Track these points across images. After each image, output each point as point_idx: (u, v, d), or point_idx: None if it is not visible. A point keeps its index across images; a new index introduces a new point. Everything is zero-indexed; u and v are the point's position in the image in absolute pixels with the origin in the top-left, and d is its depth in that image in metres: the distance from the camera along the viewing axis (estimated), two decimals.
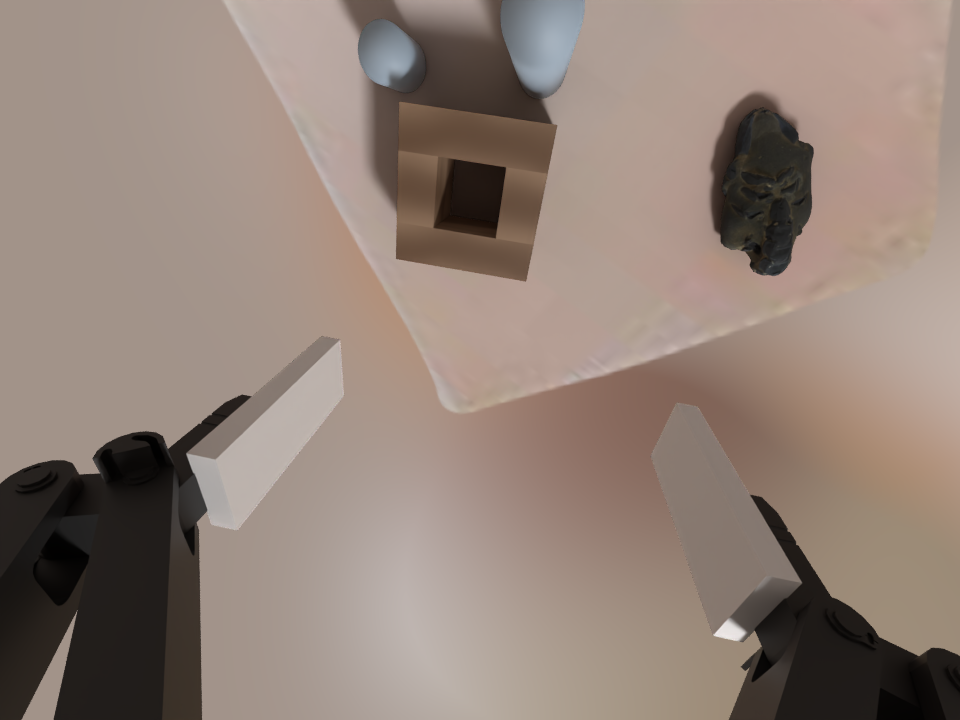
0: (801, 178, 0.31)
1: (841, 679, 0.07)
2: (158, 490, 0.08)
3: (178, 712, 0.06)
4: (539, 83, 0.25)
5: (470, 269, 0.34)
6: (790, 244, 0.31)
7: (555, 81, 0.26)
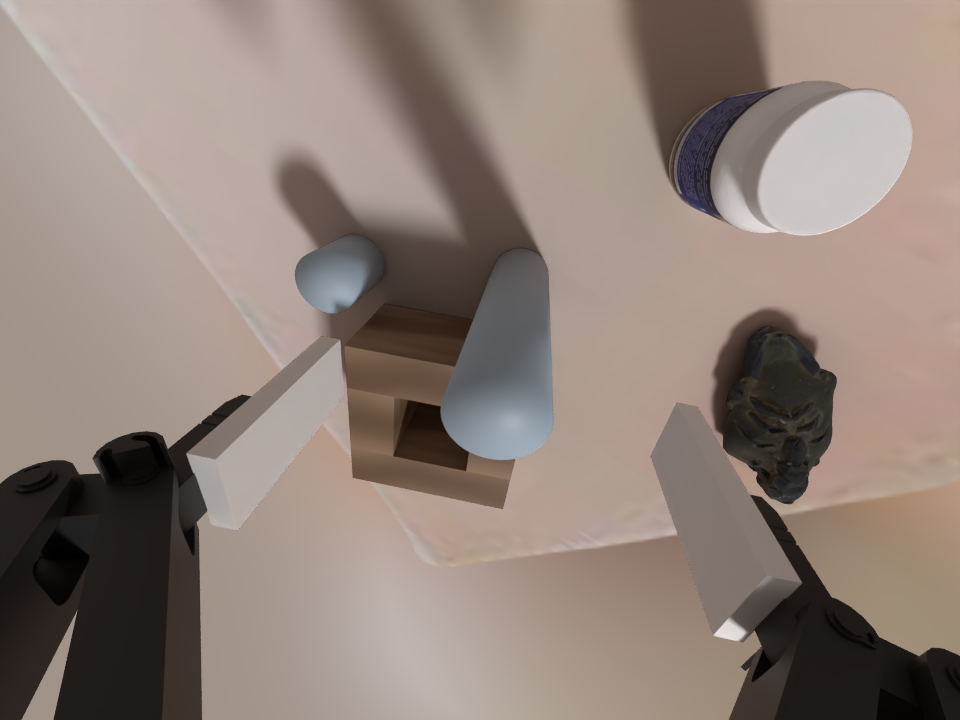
0: (822, 414, 0.26)
1: (841, 679, 0.07)
2: (158, 490, 0.08)
3: (178, 712, 0.06)
4: None
5: (438, 493, 0.29)
6: (806, 484, 0.26)
7: None
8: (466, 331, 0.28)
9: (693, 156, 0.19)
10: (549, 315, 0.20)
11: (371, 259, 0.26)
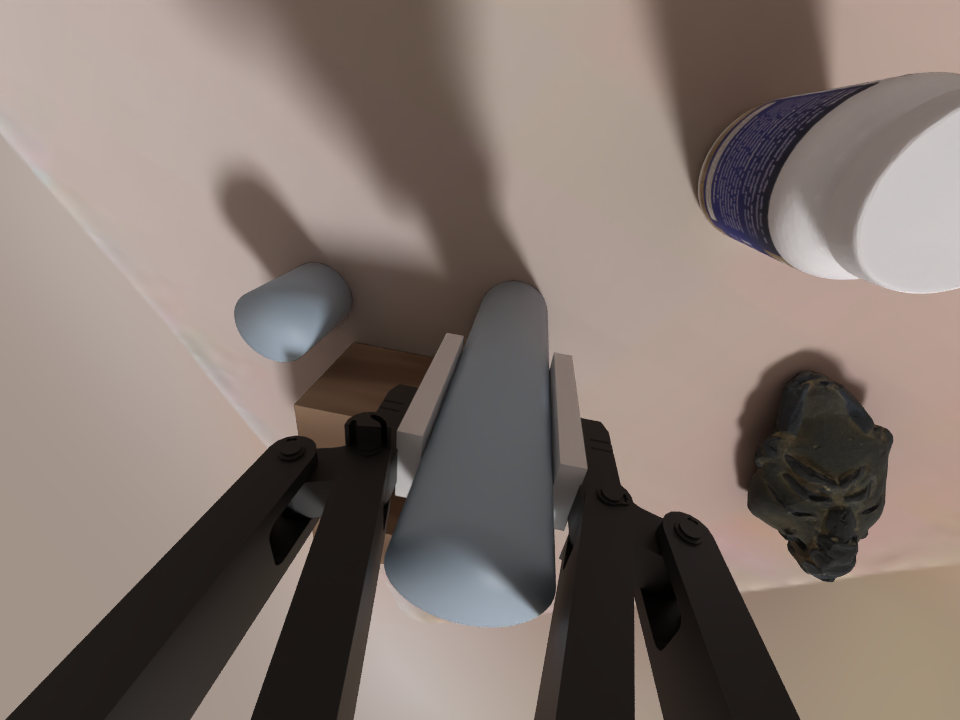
0: (875, 480, 0.21)
1: (611, 539, 0.09)
2: (377, 466, 0.10)
3: (350, 681, 0.07)
4: None
5: None
6: (853, 564, 0.22)
7: None
8: None
9: (738, 175, 0.14)
10: (548, 379, 0.15)
11: (333, 294, 0.22)
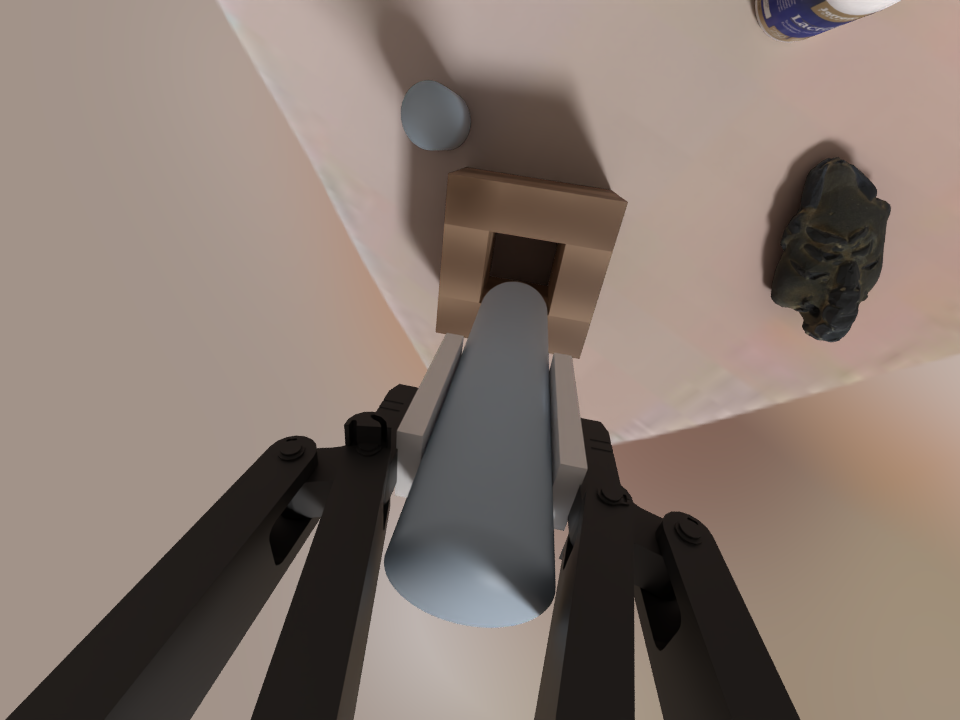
0: (876, 239, 0.27)
1: (611, 539, 0.09)
2: (377, 466, 0.10)
3: (350, 681, 0.07)
4: None
5: None
6: (856, 312, 0.28)
7: None
8: (549, 182, 0.29)
9: None
10: (548, 380, 0.15)
11: (464, 108, 0.28)
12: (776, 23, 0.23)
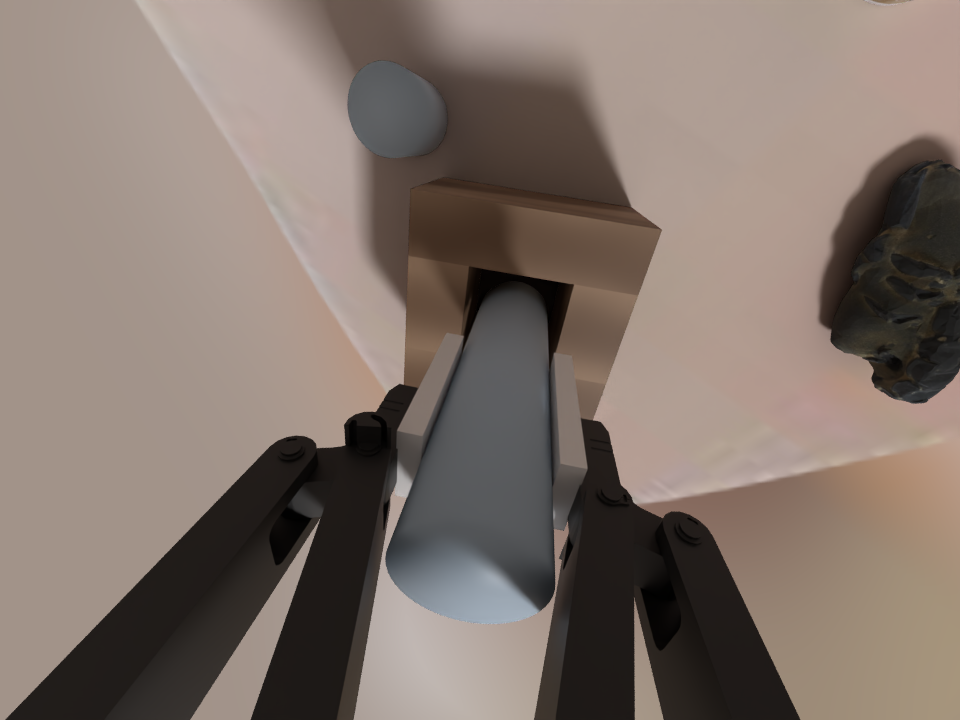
0: None
1: (611, 539, 0.09)
2: (377, 466, 0.10)
3: (350, 681, 0.07)
4: None
5: None
6: (957, 369, 0.21)
7: None
8: (551, 198, 0.22)
9: None
10: (548, 379, 0.15)
11: (438, 101, 0.21)
12: None
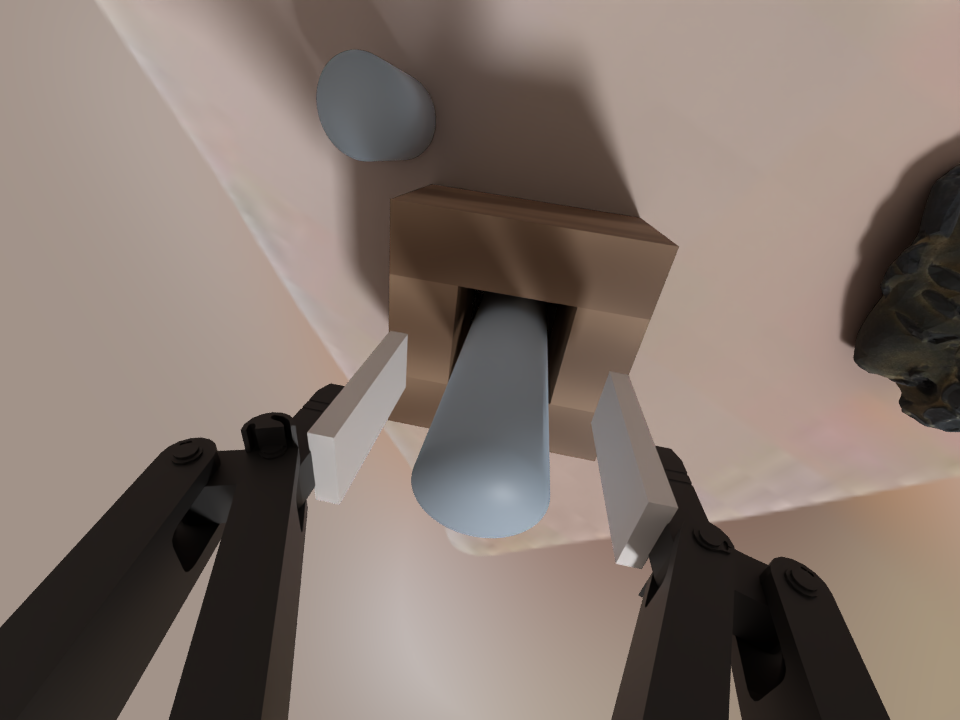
0: None
1: (707, 586, 0.08)
2: (284, 468, 0.09)
3: (276, 682, 0.06)
4: None
5: None
6: None
7: None
8: (550, 208, 0.20)
9: None
10: (546, 350, 0.17)
11: (423, 100, 0.19)
12: None
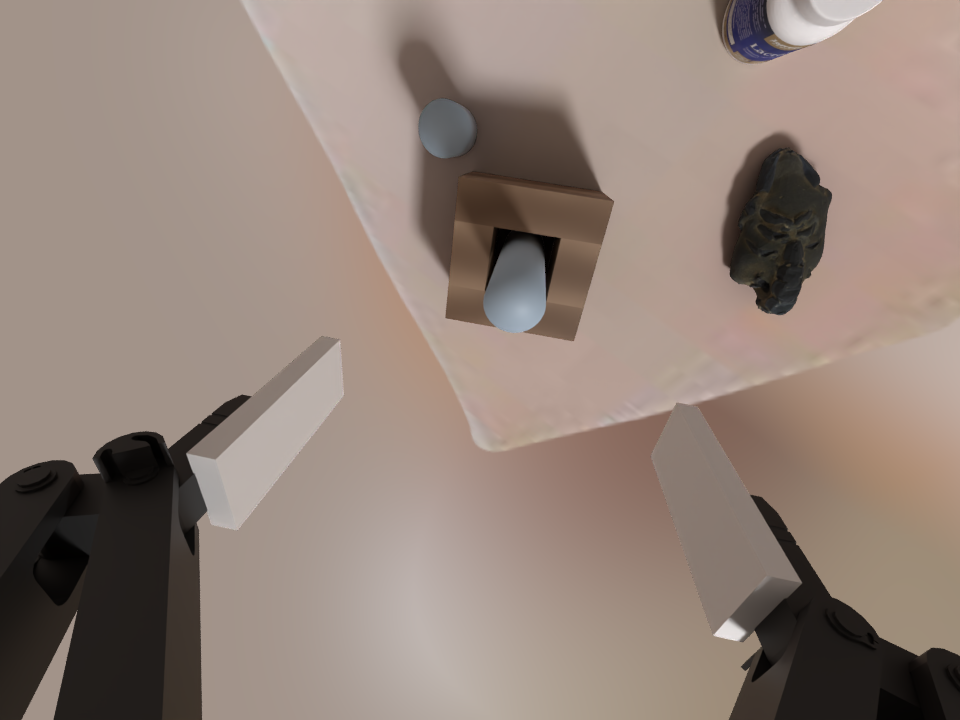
0: (818, 222, 0.31)
1: (841, 679, 0.07)
2: (158, 490, 0.08)
3: (178, 712, 0.06)
4: None
5: None
6: (799, 286, 0.32)
7: None
8: (546, 184, 0.33)
9: None
10: (544, 263, 0.31)
11: (473, 123, 0.32)
12: (739, 49, 0.27)
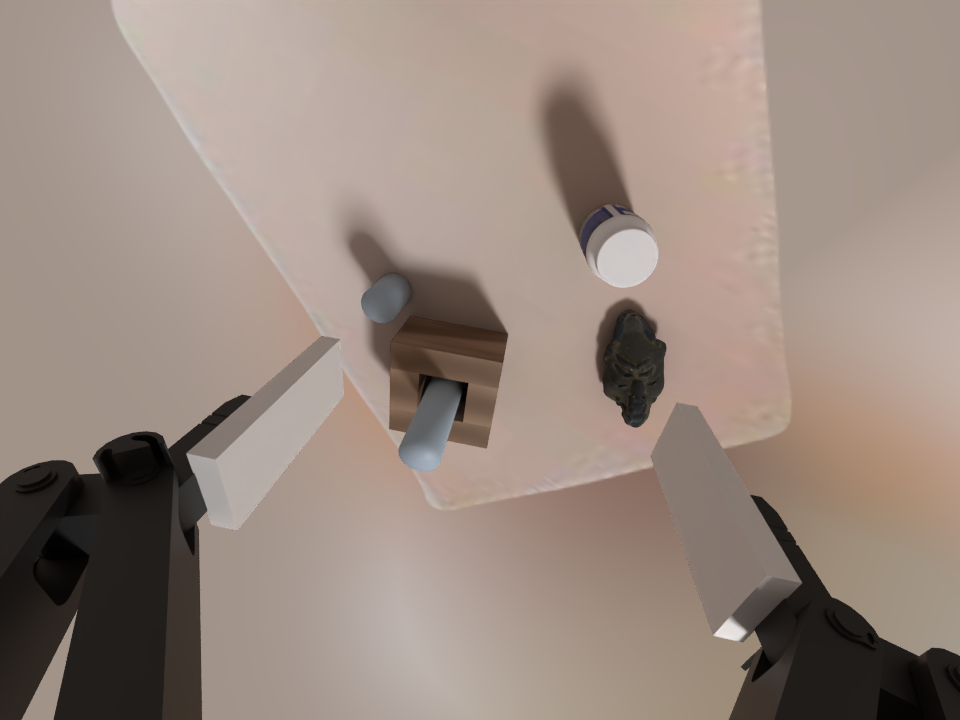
0: (655, 367, 0.41)
1: (841, 679, 0.07)
2: (158, 490, 0.08)
3: (179, 711, 0.06)
4: None
5: None
6: (643, 412, 0.42)
7: None
8: (463, 333, 0.44)
9: (583, 240, 0.35)
10: (456, 400, 0.41)
11: (405, 292, 0.43)
12: None
